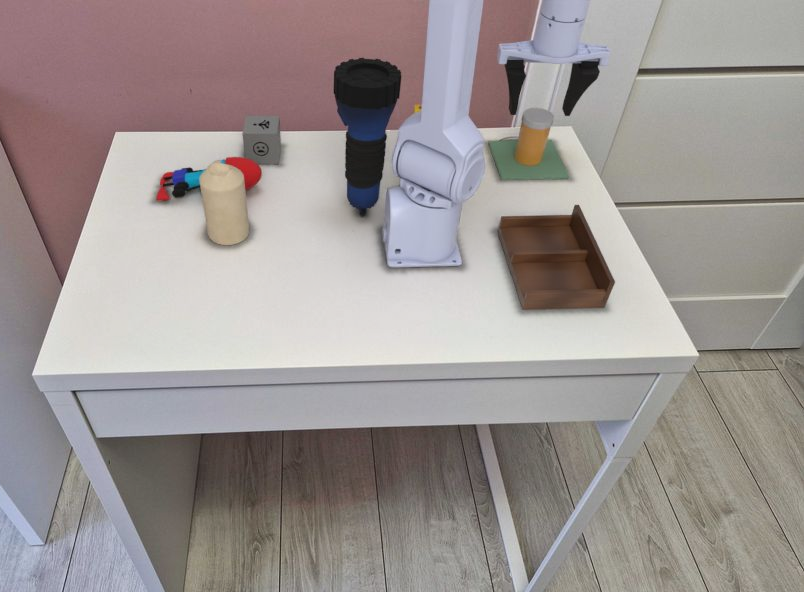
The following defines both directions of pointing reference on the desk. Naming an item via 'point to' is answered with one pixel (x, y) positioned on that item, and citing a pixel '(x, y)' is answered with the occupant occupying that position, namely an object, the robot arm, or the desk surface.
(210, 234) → the candle
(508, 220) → the tray
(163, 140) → the desk surface
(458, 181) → the robot arm
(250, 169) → the toy figure
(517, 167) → the green mat
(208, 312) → the desk surface
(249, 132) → the dice cube
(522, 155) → the disc
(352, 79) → the flashlight
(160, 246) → the desk surface
